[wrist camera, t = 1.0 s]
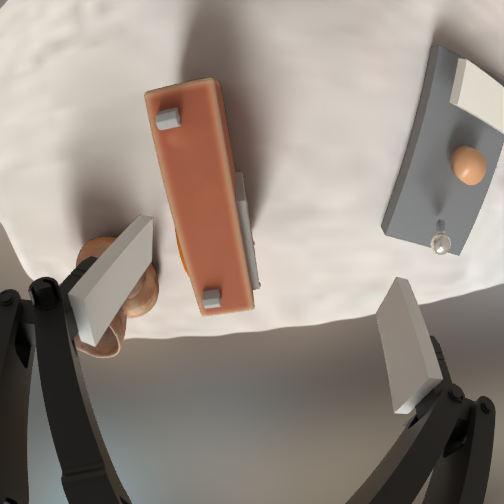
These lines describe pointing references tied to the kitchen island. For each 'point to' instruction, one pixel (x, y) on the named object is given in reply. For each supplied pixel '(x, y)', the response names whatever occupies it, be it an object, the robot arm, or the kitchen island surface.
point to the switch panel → (440, 163)
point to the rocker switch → (478, 94)
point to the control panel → (205, 194)
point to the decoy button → (468, 165)
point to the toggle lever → (440, 239)
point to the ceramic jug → (132, 307)
